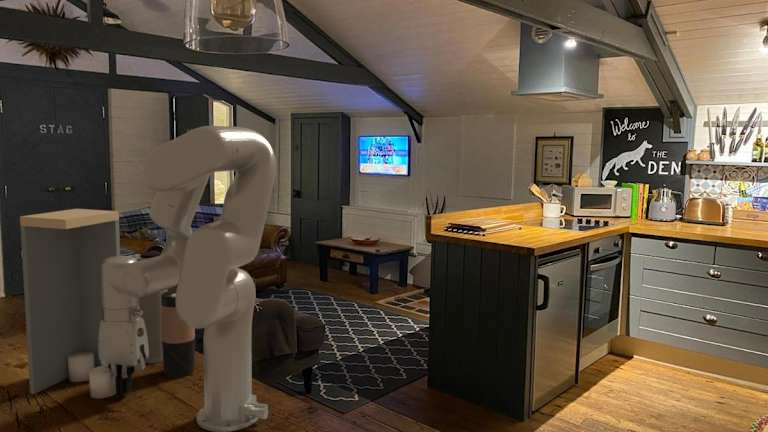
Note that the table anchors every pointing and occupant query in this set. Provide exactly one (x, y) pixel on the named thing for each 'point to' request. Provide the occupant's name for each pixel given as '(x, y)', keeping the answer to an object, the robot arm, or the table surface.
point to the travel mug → (176, 340)
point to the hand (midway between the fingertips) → (124, 392)
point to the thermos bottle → (153, 319)
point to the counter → (64, 287)
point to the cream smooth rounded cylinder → (101, 382)
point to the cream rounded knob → (80, 365)
